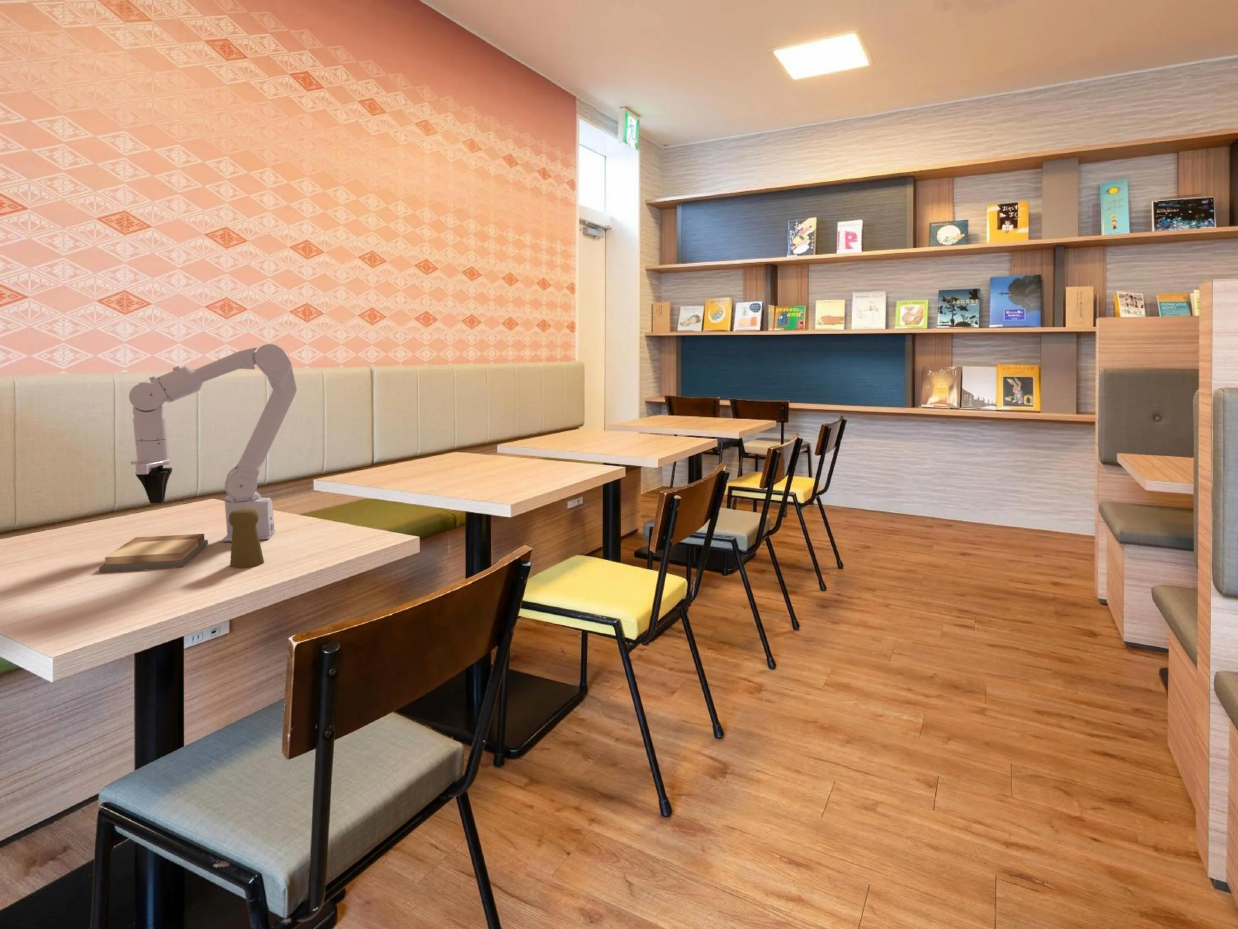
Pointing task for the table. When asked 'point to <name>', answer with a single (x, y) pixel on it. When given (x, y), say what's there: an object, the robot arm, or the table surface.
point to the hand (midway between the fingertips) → (157, 502)
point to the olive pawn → (245, 539)
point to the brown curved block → (169, 538)
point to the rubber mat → (153, 564)
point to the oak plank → (152, 551)
